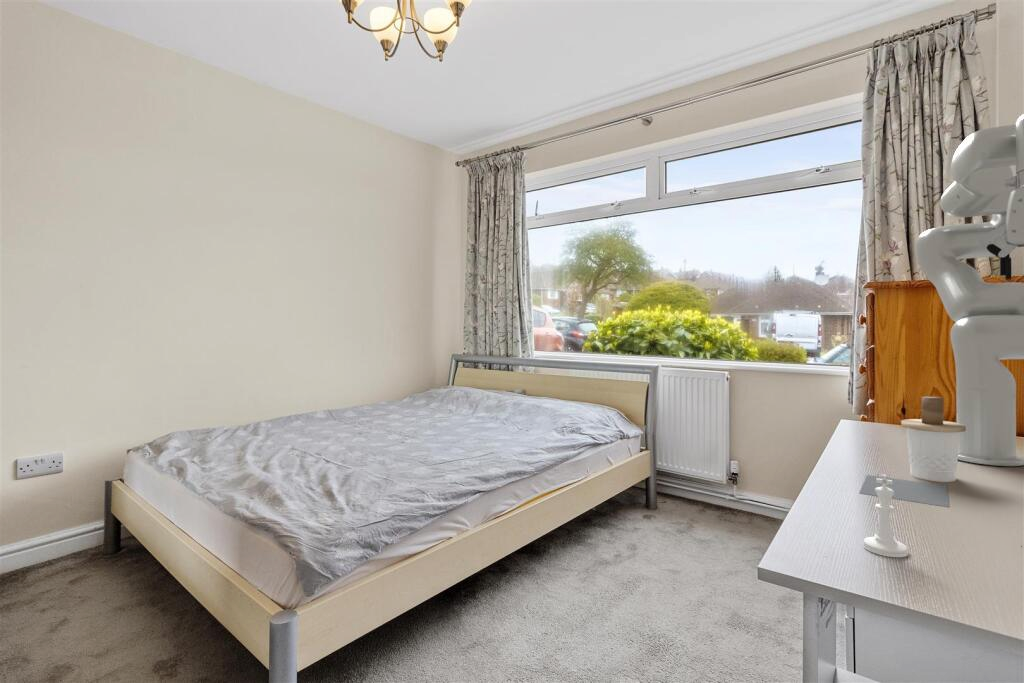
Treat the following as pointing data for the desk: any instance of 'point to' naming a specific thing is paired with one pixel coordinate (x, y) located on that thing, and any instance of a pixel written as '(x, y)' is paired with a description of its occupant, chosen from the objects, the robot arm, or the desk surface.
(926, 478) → the white cup
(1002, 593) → the desk surface
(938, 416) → the lid
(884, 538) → the chess piece
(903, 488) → the mat
